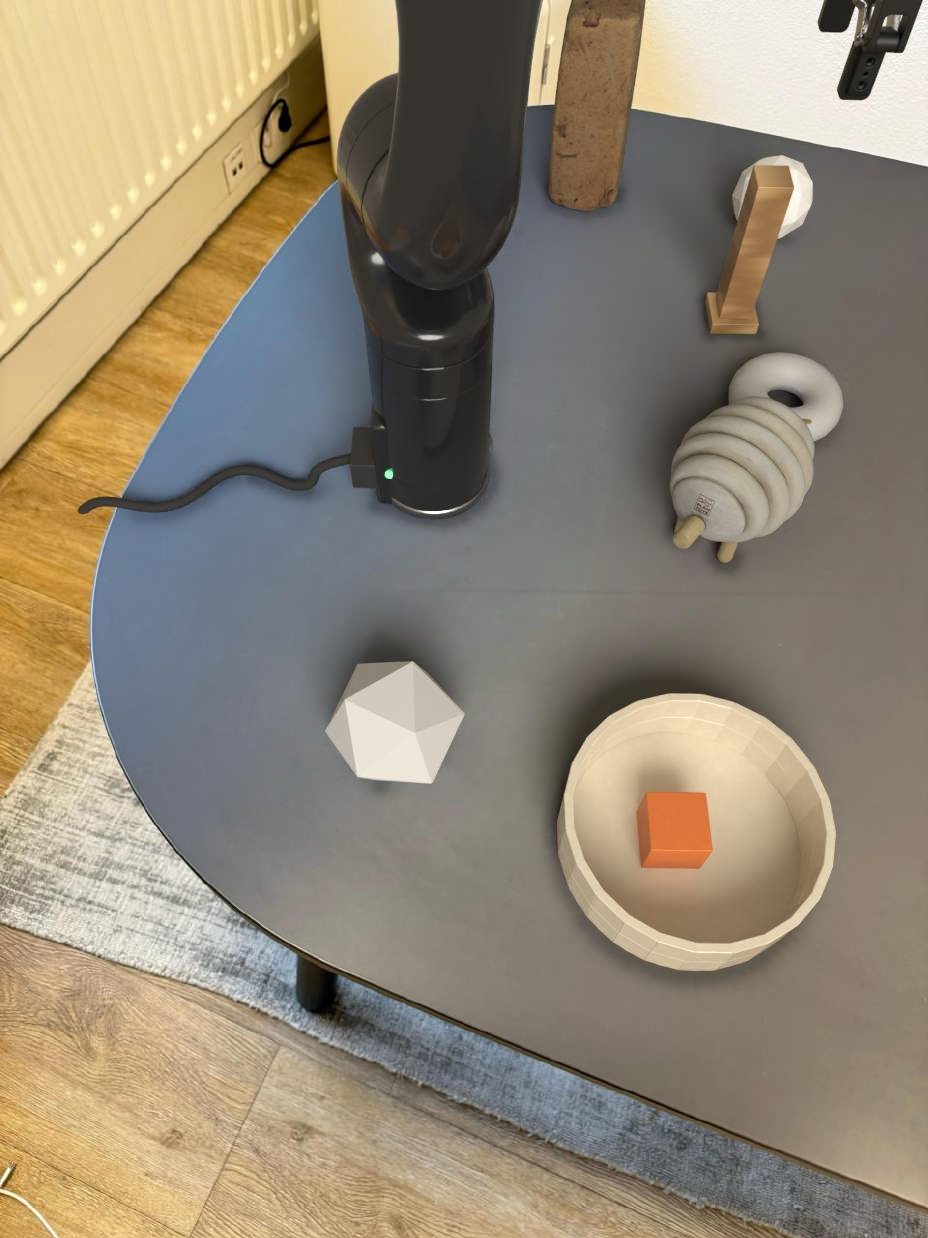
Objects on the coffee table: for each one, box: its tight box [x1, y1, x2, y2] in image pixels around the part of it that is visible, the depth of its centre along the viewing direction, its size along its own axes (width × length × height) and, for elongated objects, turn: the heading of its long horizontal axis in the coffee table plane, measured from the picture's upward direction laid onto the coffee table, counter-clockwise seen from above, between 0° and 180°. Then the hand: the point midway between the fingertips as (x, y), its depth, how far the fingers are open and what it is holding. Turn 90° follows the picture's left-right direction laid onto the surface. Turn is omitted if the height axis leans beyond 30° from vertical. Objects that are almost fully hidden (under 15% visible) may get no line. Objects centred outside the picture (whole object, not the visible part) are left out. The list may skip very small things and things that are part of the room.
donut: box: [728, 351, 844, 442], centre depth 86 cm, size 10×4×10 cm
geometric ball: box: [731, 154, 814, 240], centre depth 97 cm, size 8×8×8 cm
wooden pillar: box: [704, 165, 794, 335], centre depth 87 cm, size 4×4×15 cm
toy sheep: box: [669, 396, 816, 563], centre depth 76 cm, size 11×17×11 cm, turn 147°
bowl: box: [556, 692, 837, 972], centre depth 65 cm, size 17×17×6 cm
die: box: [324, 660, 466, 785], centre depth 67 cm, size 8×9×10 cm
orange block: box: [637, 792, 713, 869], centre depth 65 cm, size 4×4×4 cm
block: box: [548, 0, 647, 212], centre depth 95 cm, size 11×8×20 cm
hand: (840, 62), depth 70 cm, fingers open, 8 cm apart
